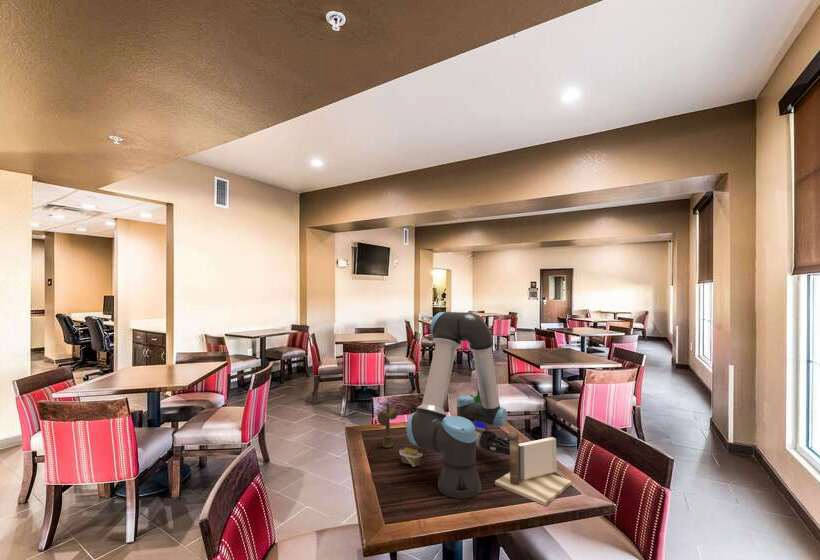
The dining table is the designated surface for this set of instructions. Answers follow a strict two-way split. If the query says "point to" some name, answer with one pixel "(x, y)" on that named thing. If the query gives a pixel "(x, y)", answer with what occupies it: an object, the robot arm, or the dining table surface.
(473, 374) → the hyacinth
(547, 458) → the gate
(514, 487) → the gate frame
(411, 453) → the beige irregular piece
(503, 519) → the dining table surface
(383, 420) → the kendama
